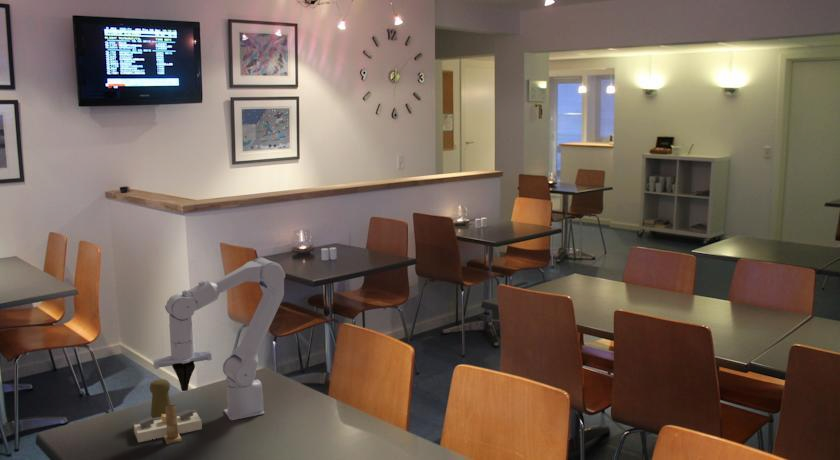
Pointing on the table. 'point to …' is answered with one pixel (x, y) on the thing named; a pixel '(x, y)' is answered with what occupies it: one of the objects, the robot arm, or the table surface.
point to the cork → (159, 397)
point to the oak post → (172, 425)
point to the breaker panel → (161, 427)
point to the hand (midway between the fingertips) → (184, 389)
